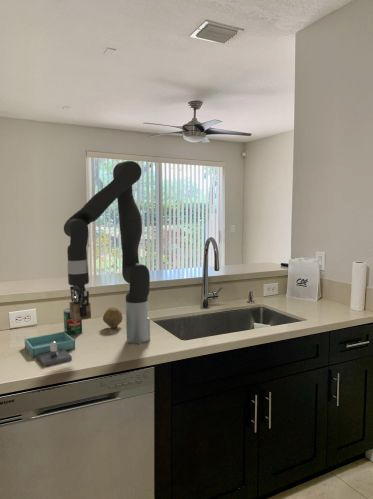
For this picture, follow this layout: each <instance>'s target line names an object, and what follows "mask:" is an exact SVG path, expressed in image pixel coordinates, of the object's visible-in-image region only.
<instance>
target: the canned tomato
mask: <svg viewBox="0 0 373 499" xmlns="http://www.w3.org/2000/svg"><path fill="white" fill-rule="evenodd" d="M63 325H64V326H63V330H64V331H63V332H65V333H66V334H68V335H69V336H70V337H73V336H74V337H77V336H80V335H82V334H83V320H79V321H75V320H73V319H72V318H70V307H68V308H64V309H63Z"/></svg>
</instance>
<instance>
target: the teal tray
mask: <svg viewBox="0 0 373 499" xmlns="http://www.w3.org/2000/svg"><path fill="white" fill-rule="evenodd" d="M51 342H56V343H57V350H59V349H64V350H65V351H67V352H68V351H71V350H75V349H76V340H75V339H74V338H72V336H69V335H68V334H66V333H65V332H64V331H59V332H54V333H50V334H49V333H48V334H45V335H39V336H33V337H28V338H24V348H25V350H26V351H28V352H27V353H29V354H30V356H31V358H33V359H34V358H37V354H40V353H45V352H49V351H50V344H51Z"/></svg>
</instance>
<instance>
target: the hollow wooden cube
mask: <svg viewBox="0 0 373 499" xmlns="http://www.w3.org/2000/svg"><path fill="white" fill-rule="evenodd" d="M69 308H70V318H72V319H73V320H75V321H79V320H82V321H83V320H88V319H92V311H91V310H92V308H91V302H90V301H89V306H87V307H86V313H87V316H86V317H81V316H80V305H79V302H77V301H75V302H73V301H69Z"/></svg>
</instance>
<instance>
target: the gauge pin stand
mask: <svg viewBox="0 0 373 499" xmlns="http://www.w3.org/2000/svg"><path fill="white" fill-rule="evenodd" d="M36 359H37V360H38V361H39V363H40V364H41V366H42V367H43V368H45V367H48V365H49V366H52V365H53V364H54V365H57V364H61V363H65V362H70V361H72V360H73V357H72V355H71V353H69V352H68V350H67V351H65V350H64V349H59V350H57V343H56V342H51V344H50V351H49V352H45V353H40V354H37V357H36Z"/></svg>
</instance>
